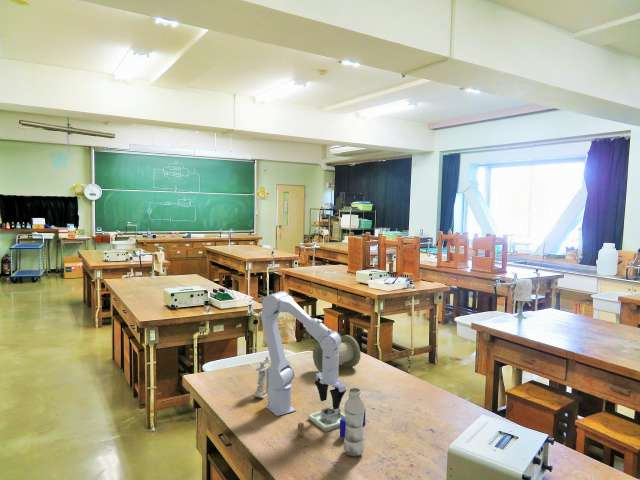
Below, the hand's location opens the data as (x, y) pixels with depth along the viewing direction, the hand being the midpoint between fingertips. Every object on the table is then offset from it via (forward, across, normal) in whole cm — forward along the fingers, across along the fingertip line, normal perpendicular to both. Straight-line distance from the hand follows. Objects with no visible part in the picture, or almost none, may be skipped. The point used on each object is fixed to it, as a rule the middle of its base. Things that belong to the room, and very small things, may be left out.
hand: (329, 404), depth 157 cm
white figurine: (+7, -32, -11) cm, 34 cm away
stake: (+6, +3, -14) cm, 15 cm away
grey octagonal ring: (+6, 0, 0) cm, 6 cm away
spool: (+6, -39, +32) cm, 51 cm away
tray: (+6, 0, 0) cm, 6 cm away
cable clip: (+6, +11, +3) cm, 13 cm away
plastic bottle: (+6, +21, -6) cm, 23 cm away
